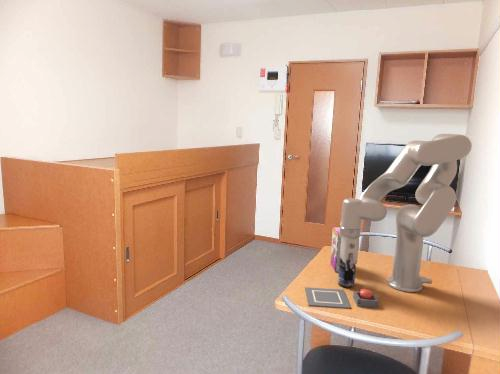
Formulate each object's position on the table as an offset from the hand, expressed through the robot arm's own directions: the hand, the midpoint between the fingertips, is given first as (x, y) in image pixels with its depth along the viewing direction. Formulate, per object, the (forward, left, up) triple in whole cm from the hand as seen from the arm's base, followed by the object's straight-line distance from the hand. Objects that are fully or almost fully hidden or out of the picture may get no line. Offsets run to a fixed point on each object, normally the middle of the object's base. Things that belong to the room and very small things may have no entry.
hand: (345, 275), depth 144 cm
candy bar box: (0, -18, -4) cm, 19 cm away
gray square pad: (+9, +12, -4) cm, 16 cm away
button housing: (-4, +14, -4) cm, 15 cm away
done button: (-4, +14, -2) cm, 15 cm away
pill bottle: (0, 0, -4) cm, 4 cm away
